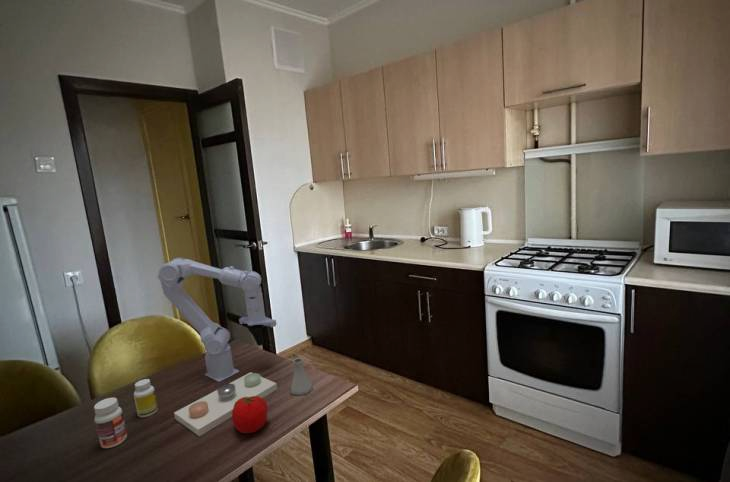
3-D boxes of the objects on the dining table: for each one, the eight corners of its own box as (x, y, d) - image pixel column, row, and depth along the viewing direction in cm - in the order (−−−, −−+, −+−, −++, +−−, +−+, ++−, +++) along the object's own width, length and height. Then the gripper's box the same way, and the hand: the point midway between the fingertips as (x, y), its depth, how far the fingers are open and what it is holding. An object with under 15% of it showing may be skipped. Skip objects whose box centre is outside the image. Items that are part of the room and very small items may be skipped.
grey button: (215, 395, 114) (214, 389, 114) (229, 387, 118) (229, 382, 118) (224, 400, 111) (223, 394, 111) (239, 391, 115) (238, 386, 115)
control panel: (175, 418, 110) (173, 412, 109) (251, 377, 129) (250, 372, 129) (199, 436, 101) (198, 429, 101) (277, 389, 121) (276, 383, 120)
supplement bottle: (161, 410, 114) (155, 381, 113) (141, 420, 111) (134, 389, 109) (154, 404, 118) (148, 375, 116) (135, 413, 114) (129, 383, 113)
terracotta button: (186, 413, 108) (185, 408, 107) (202, 404, 111) (202, 399, 111) (195, 419, 104) (193, 414, 104) (211, 410, 108) (210, 404, 108)
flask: (315, 382, 122) (312, 354, 121) (310, 395, 115) (306, 365, 114) (293, 383, 123) (290, 354, 122) (287, 396, 116) (283, 366, 114)
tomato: (251, 443, 96) (246, 413, 95) (224, 432, 102) (219, 404, 100) (277, 422, 104) (273, 394, 103) (251, 412, 109) (247, 386, 108)
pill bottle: (122, 446, 100) (113, 407, 98) (96, 451, 99) (87, 412, 97) (131, 431, 106) (123, 394, 104) (106, 436, 105) (98, 399, 103)
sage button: (241, 383, 121) (240, 378, 121) (254, 376, 125) (254, 371, 125) (250, 388, 118) (249, 383, 118) (263, 380, 122) (263, 375, 122)
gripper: (230, 310, 130) (236, 347, 132) (264, 312, 124) (270, 351, 126) (245, 303, 136) (250, 338, 139) (277, 305, 130) (282, 342, 133)
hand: (260, 344), depth 133 cm, fingers closed
